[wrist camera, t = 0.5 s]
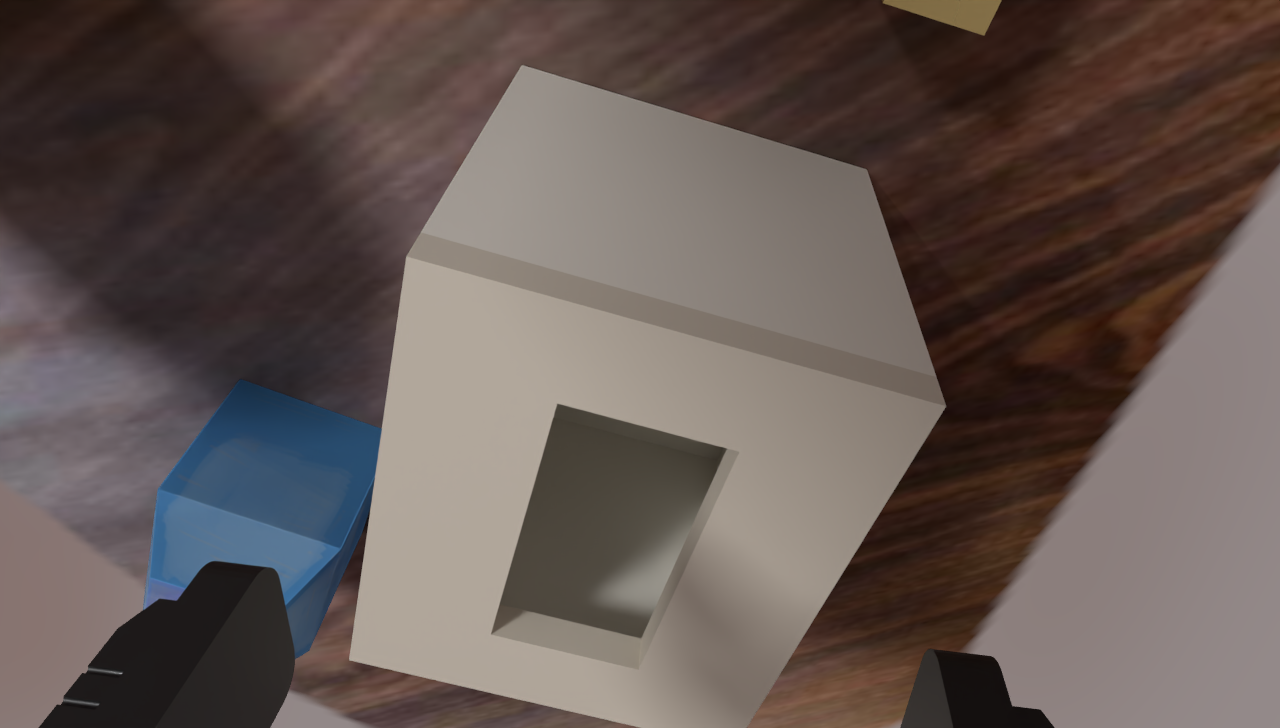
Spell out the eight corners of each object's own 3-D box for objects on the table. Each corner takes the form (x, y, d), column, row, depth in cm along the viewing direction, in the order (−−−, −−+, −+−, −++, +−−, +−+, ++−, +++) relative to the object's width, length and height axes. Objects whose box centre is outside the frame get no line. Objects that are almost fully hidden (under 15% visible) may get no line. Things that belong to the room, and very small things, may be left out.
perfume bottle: (395, 433, 36) (271, 698, 26) (362, 531, 39) (242, 799, 29) (240, 378, 34) (49, 633, 25) (220, 484, 38) (46, 745, 28)
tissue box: (522, 65, 27) (406, 256, 17) (866, 169, 28) (946, 406, 18) (456, 394, 34) (349, 659, 24) (729, 466, 35) (733, 749, 25)
